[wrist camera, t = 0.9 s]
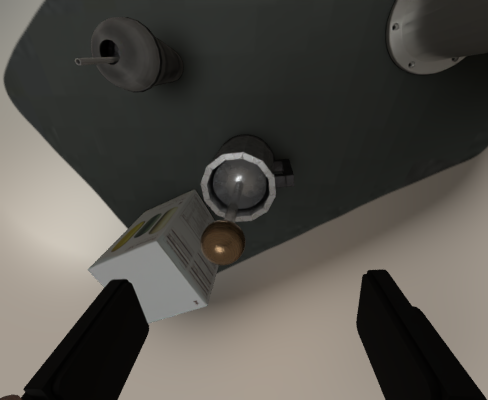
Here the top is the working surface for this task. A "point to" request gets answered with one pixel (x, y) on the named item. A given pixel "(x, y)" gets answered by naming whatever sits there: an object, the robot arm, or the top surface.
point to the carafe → (254, 153)
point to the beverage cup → (132, 55)
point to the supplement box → (163, 258)
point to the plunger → (232, 209)
